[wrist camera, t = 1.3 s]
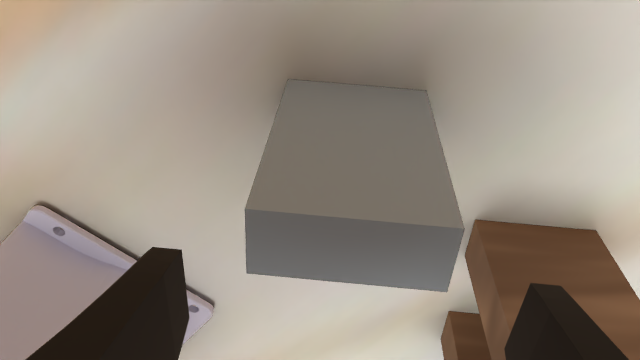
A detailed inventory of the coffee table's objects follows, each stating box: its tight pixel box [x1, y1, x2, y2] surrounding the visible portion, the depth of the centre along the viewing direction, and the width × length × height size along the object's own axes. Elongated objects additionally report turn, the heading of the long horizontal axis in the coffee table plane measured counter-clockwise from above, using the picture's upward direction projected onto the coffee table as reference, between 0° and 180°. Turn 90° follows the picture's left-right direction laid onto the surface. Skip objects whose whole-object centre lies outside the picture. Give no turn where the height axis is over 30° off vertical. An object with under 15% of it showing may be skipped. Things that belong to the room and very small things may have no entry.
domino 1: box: [245, 79, 465, 292], centre depth 15 cm, size 2×5×8 cm, turn 87°
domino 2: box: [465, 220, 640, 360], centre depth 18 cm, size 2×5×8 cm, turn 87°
